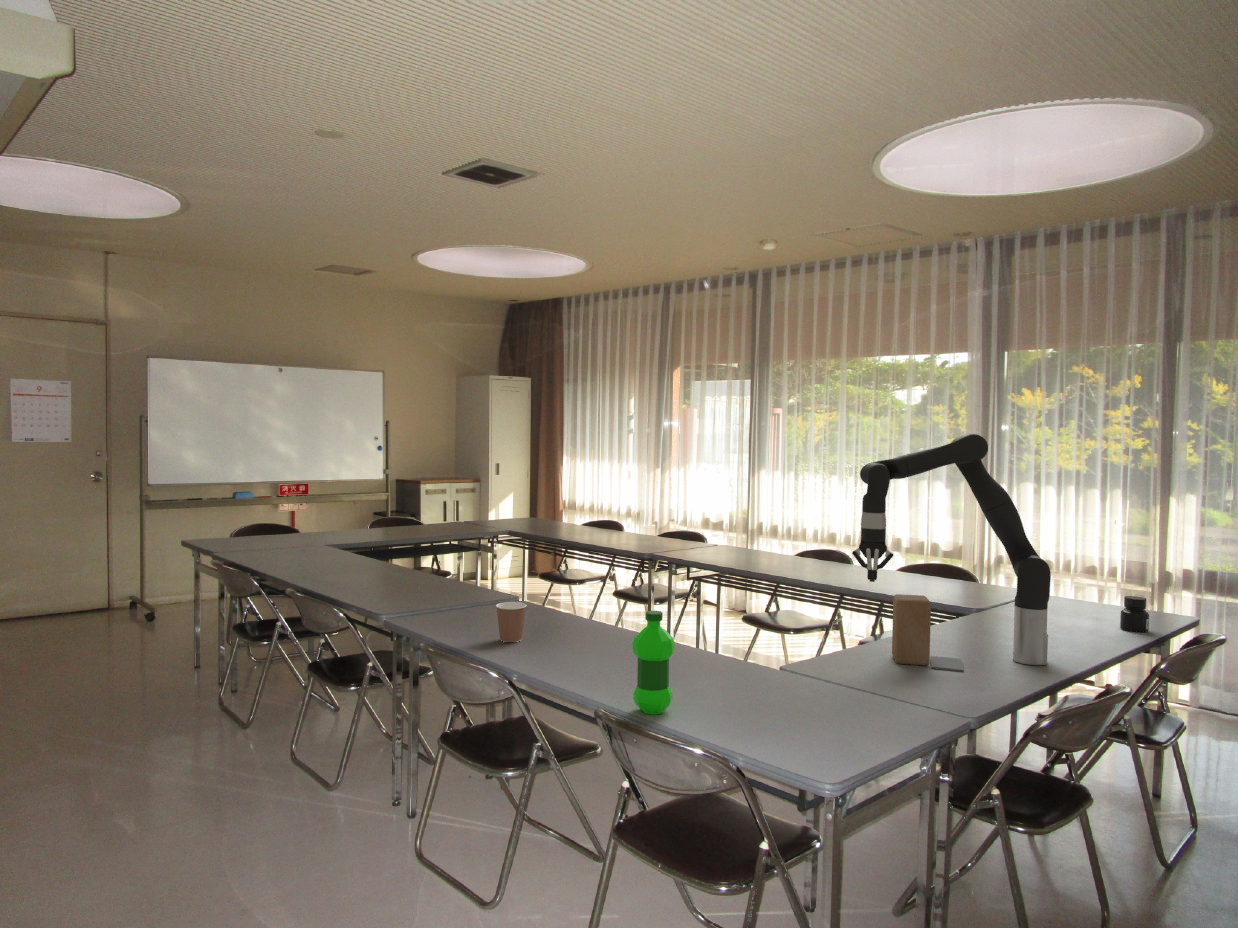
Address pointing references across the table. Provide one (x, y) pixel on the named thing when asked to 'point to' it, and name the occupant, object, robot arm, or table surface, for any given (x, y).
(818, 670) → the table surface
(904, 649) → the block
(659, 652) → the plastic bottle
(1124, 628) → the ink bottle
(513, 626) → the coffee cup
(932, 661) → the mat
